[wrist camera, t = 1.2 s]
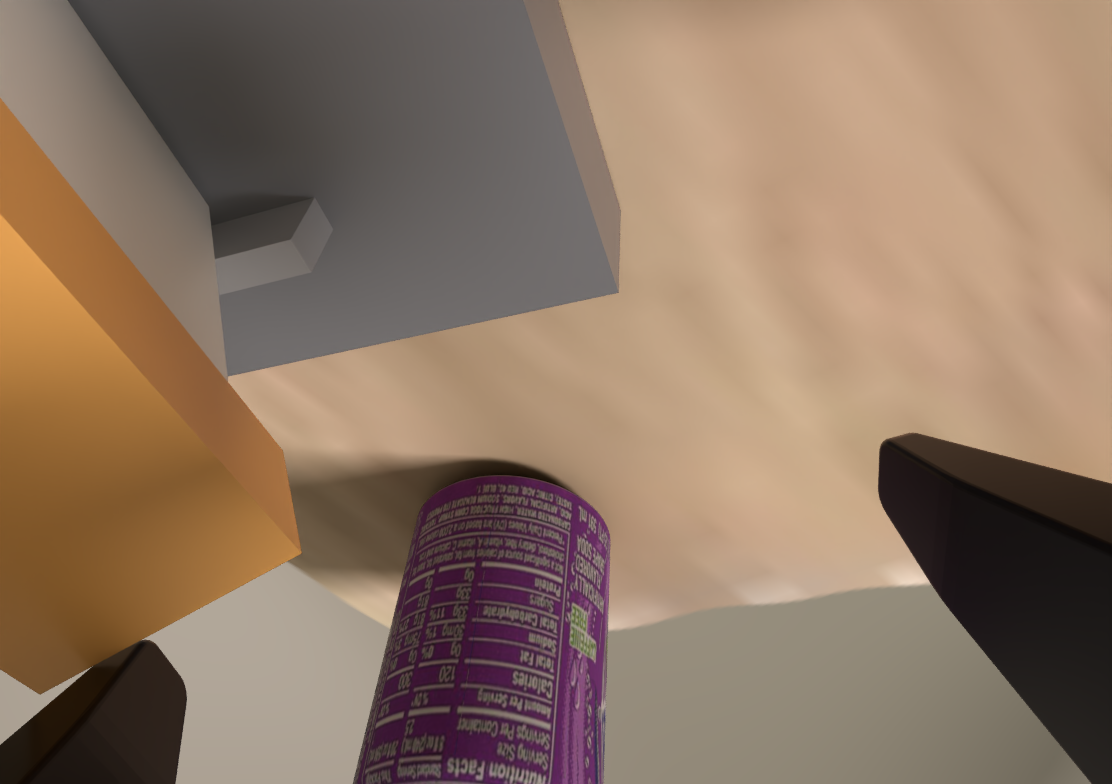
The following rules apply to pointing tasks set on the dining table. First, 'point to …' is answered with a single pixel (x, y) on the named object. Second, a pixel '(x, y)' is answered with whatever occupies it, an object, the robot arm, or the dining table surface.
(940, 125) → the dining table surface
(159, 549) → the lever
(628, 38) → the dining table surface
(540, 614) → the beverage can
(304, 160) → the box
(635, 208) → the dining table surface
